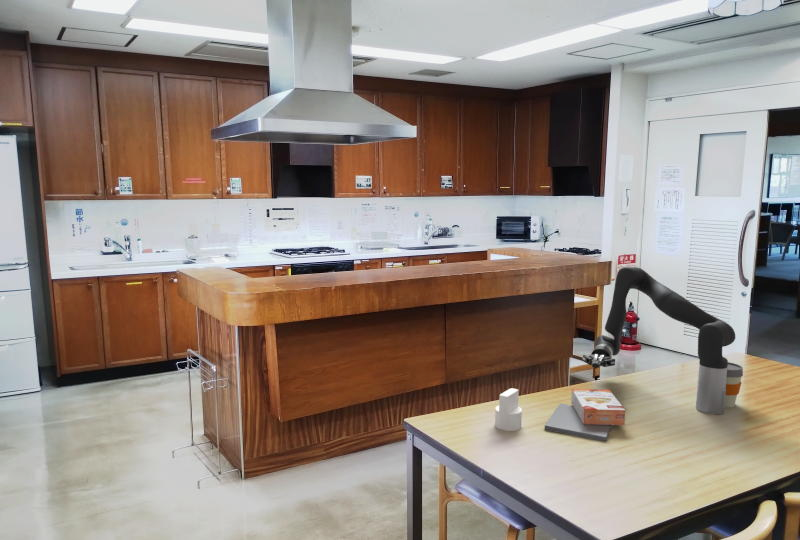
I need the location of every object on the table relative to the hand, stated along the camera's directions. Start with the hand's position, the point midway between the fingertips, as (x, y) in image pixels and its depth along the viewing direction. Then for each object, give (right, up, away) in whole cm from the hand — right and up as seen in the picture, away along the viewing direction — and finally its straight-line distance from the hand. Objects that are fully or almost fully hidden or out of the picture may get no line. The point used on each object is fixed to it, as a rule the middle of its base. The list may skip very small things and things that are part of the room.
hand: (595, 365), depth 226 cm
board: (-12, -17, -20) cm, 28 cm away
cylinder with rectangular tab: (-38, -17, -22) cm, 47 cm away
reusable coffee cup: (+49, -15, 0) cm, 51 cm away
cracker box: (-4, -10, -5) cm, 12 cm away
